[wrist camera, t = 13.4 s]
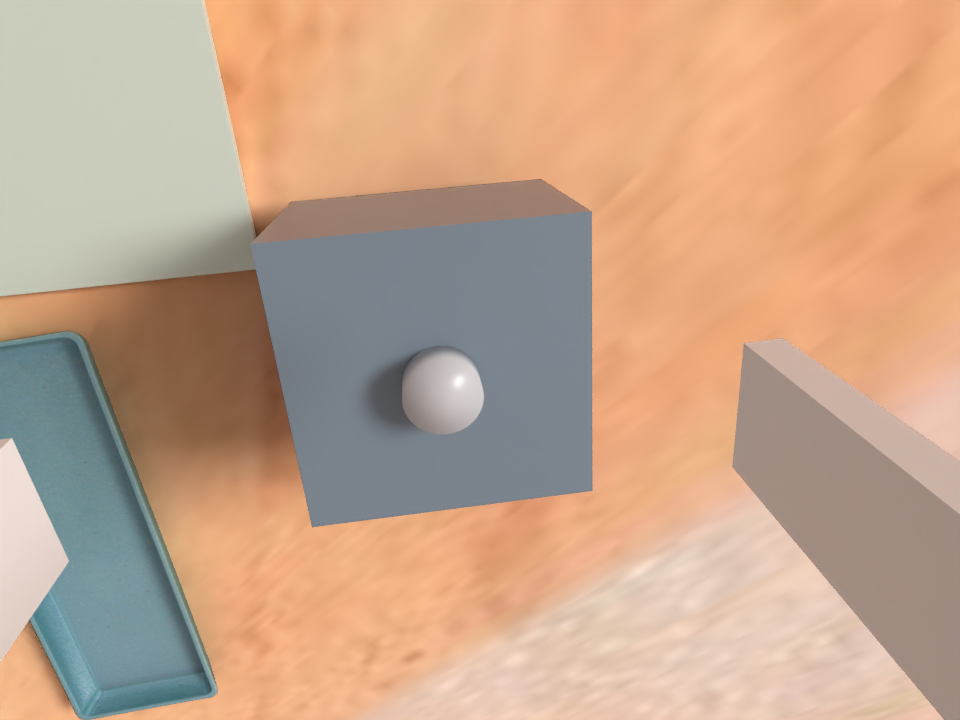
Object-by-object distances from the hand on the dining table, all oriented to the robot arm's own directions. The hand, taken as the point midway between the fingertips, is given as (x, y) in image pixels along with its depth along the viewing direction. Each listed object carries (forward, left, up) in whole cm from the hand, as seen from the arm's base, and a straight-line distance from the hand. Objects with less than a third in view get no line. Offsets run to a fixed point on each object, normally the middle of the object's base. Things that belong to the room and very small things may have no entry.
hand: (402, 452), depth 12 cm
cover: (+4, +1, -21) cm, 22 cm away
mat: (-6, -15, -24) cm, 29 cm away
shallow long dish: (+17, -21, -24) cm, 36 cm away
